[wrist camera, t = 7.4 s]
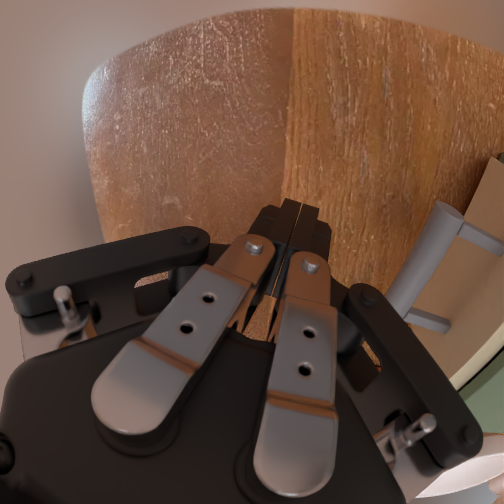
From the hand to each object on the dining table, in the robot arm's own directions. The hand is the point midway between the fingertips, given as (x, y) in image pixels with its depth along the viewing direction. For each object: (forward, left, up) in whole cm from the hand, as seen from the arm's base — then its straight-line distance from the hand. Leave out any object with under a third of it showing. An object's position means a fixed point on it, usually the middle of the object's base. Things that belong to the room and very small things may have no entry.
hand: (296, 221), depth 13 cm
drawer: (0, +14, -4) cm, 14 cm away
